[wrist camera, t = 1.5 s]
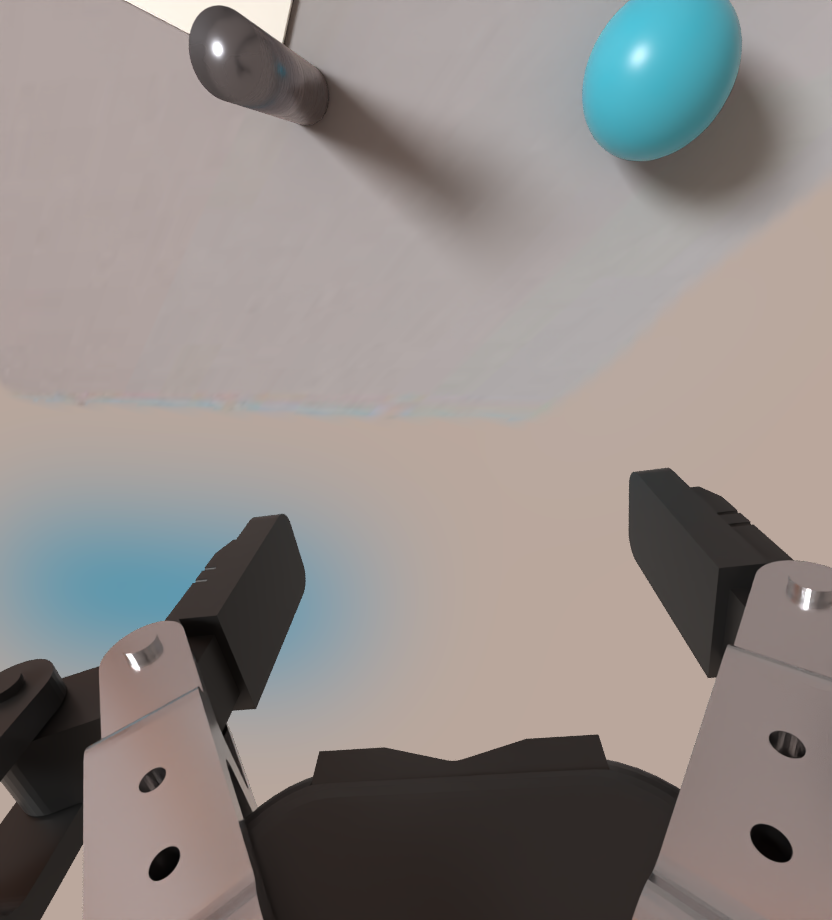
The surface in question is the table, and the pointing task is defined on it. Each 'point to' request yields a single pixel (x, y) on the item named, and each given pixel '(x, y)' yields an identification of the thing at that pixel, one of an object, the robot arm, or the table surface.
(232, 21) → the post
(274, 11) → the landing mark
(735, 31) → the ball
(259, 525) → the robot arm
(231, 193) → the table surface
